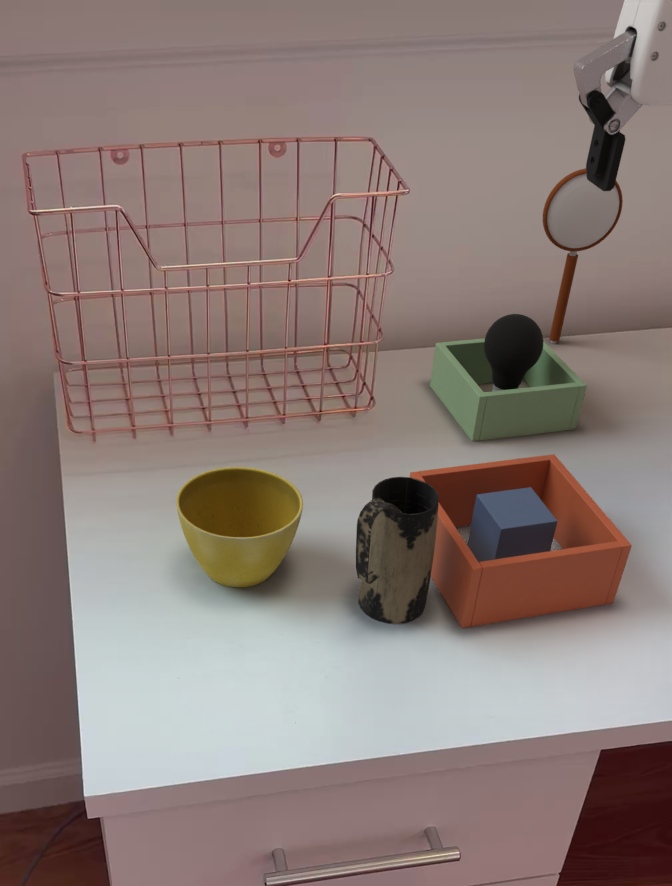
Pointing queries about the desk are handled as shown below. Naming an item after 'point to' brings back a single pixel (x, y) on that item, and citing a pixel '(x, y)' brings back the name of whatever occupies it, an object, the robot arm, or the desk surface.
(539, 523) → the block
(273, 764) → the desk surface
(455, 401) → the bulb bin
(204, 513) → the yellow bowl
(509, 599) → the block bin
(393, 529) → the mug
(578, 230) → the magnifying glass
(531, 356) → the light bulb
